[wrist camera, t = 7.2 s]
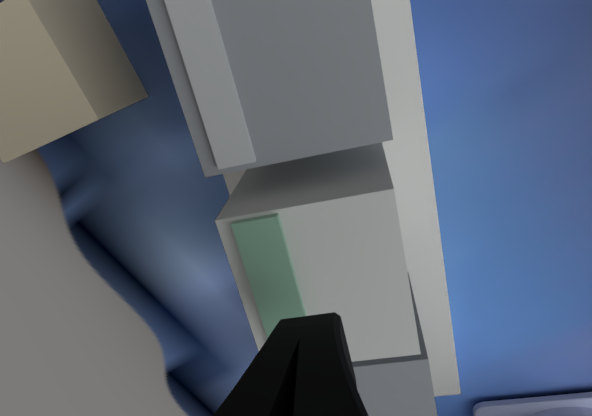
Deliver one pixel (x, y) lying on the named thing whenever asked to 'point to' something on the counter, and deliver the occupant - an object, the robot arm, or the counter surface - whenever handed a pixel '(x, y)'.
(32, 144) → the block
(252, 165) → the din rail
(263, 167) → the block
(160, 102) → the counter surface
